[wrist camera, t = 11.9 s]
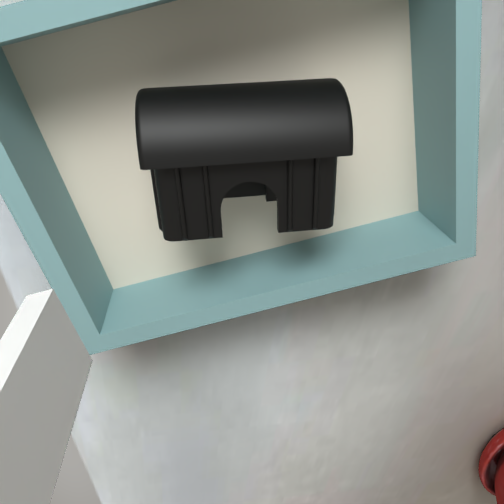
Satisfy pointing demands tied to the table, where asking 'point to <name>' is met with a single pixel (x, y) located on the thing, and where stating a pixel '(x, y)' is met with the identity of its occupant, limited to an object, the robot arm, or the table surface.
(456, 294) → the table surface
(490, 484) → the plant pot
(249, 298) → the walled box
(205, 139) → the end cap
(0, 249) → the table surface
